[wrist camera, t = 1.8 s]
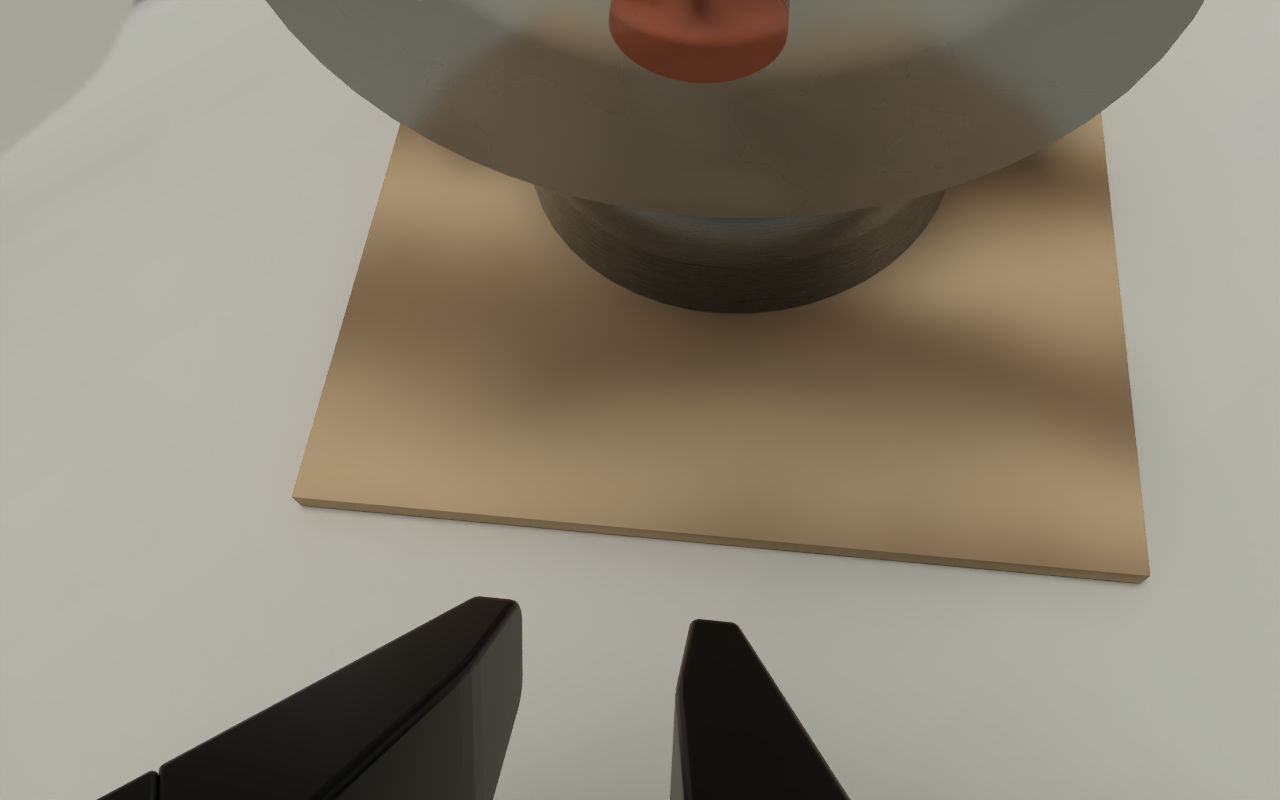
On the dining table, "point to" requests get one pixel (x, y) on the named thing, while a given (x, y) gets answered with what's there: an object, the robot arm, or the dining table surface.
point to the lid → (740, 89)
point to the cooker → (736, 251)
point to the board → (747, 383)
